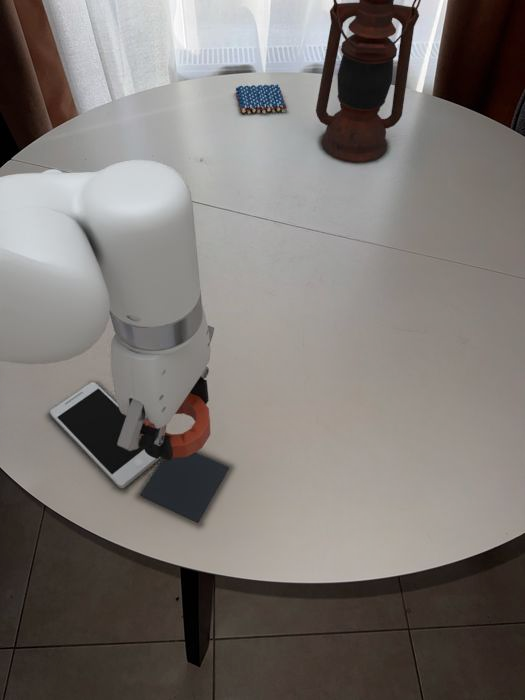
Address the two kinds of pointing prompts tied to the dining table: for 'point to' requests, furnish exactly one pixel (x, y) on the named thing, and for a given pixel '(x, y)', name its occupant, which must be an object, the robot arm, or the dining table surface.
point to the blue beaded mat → (260, 98)
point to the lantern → (364, 77)
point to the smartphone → (101, 433)
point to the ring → (197, 434)
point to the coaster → (185, 484)
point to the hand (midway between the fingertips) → (177, 424)
